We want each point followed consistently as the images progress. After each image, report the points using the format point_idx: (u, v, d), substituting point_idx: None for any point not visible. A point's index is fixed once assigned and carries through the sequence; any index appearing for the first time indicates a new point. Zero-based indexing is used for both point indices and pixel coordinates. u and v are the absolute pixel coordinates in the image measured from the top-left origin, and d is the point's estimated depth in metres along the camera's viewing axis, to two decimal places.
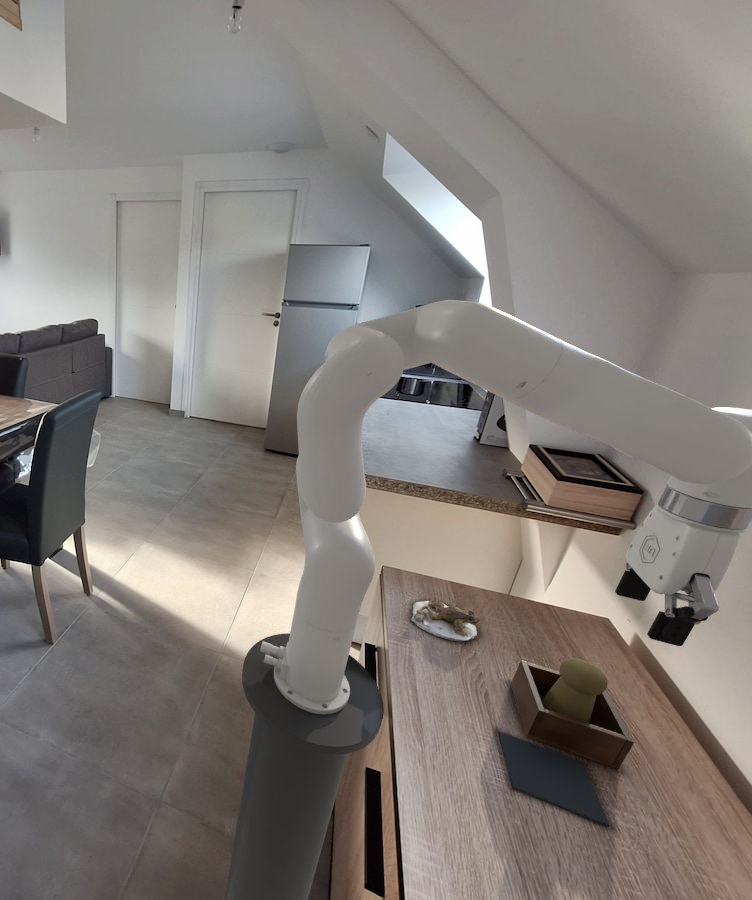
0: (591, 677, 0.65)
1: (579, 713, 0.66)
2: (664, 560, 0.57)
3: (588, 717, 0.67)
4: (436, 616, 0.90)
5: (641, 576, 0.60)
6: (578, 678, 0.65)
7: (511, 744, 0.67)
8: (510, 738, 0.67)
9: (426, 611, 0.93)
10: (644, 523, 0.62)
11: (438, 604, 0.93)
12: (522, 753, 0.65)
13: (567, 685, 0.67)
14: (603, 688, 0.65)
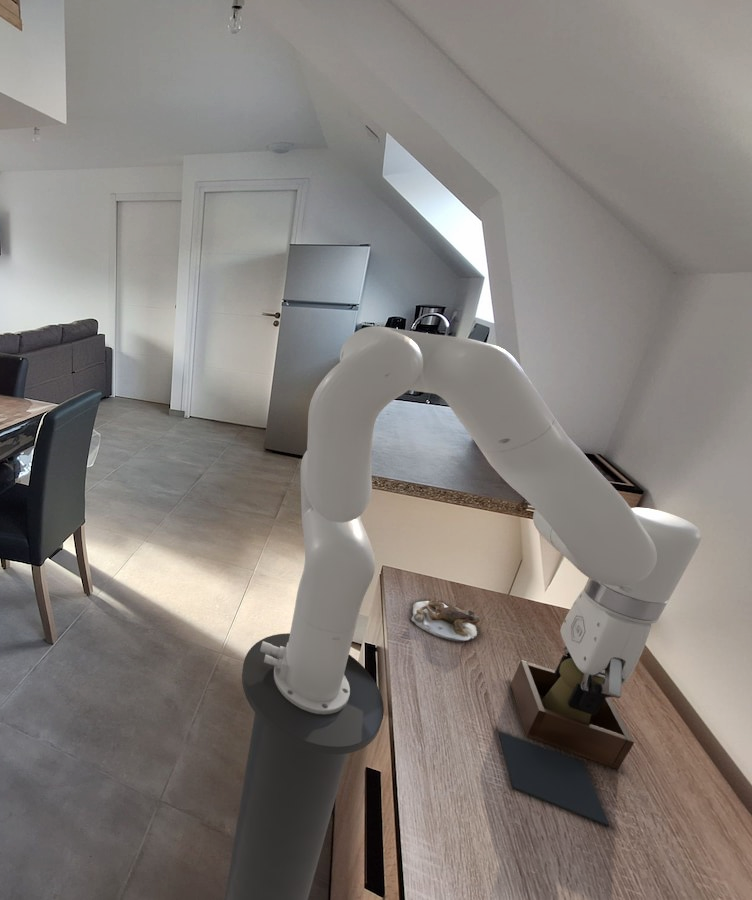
0: None
1: (579, 713, 0.66)
2: (588, 643, 0.62)
3: (588, 717, 0.67)
4: (436, 616, 0.90)
5: (571, 653, 0.66)
6: (578, 679, 0.65)
7: (511, 744, 0.67)
8: (510, 738, 0.67)
9: (426, 611, 0.93)
10: (575, 602, 0.68)
11: (438, 604, 0.93)
12: (522, 753, 0.65)
13: (567, 685, 0.67)
14: None
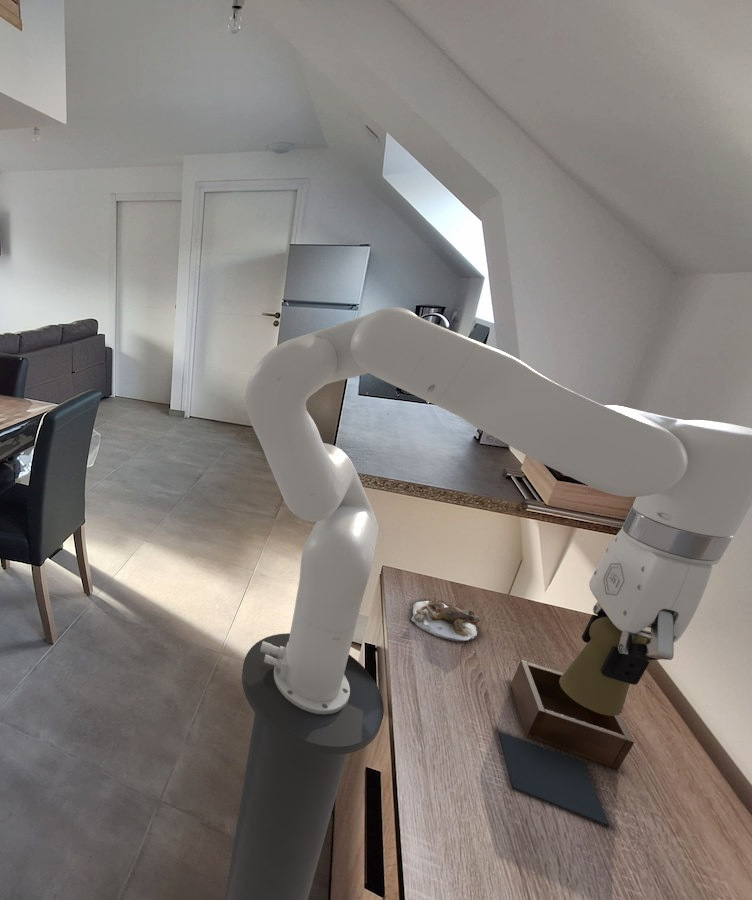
0: None
1: (614, 683, 0.54)
2: (628, 593, 0.50)
3: (626, 688, 0.54)
4: (436, 616, 0.90)
5: (604, 609, 0.53)
6: (614, 640, 0.53)
7: (511, 744, 0.67)
8: (510, 738, 0.67)
9: (426, 611, 0.93)
10: (609, 548, 0.55)
11: (438, 604, 0.93)
12: (522, 753, 0.65)
13: (600, 649, 0.55)
14: None
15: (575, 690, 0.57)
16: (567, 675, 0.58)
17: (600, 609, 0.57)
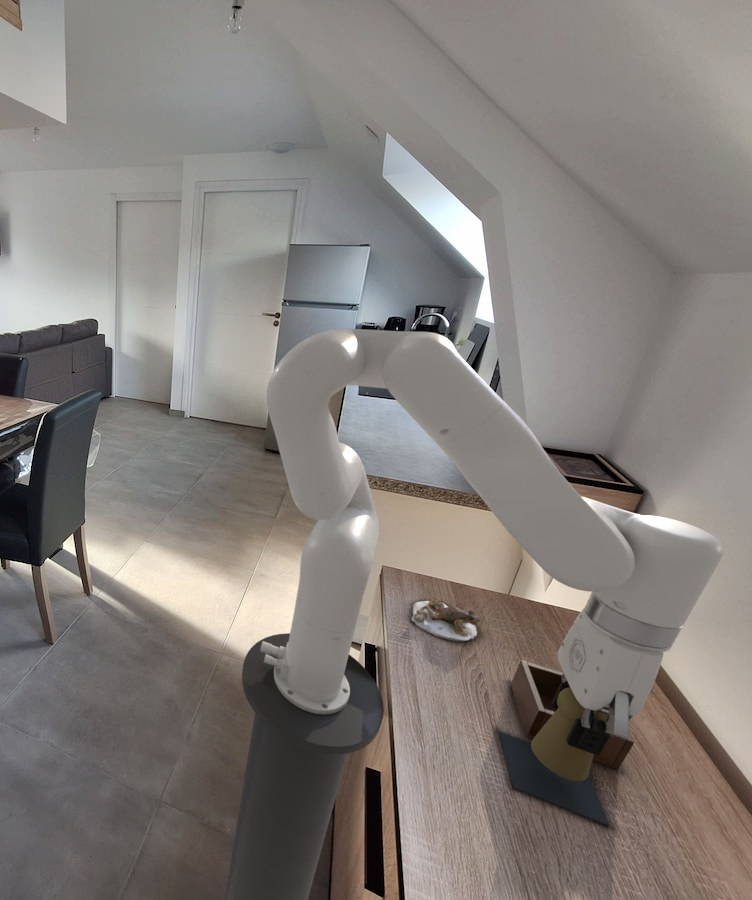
0: None
1: (579, 751, 0.58)
2: (589, 672, 0.54)
3: (590, 756, 0.58)
4: (436, 616, 0.90)
5: (569, 683, 0.57)
6: (578, 713, 0.57)
7: (511, 744, 0.67)
8: (510, 738, 0.67)
9: (426, 611, 0.93)
10: (575, 623, 0.59)
11: (438, 604, 0.93)
12: (522, 753, 0.65)
13: (566, 719, 0.58)
14: None
15: (544, 755, 0.60)
16: (538, 739, 0.62)
17: None
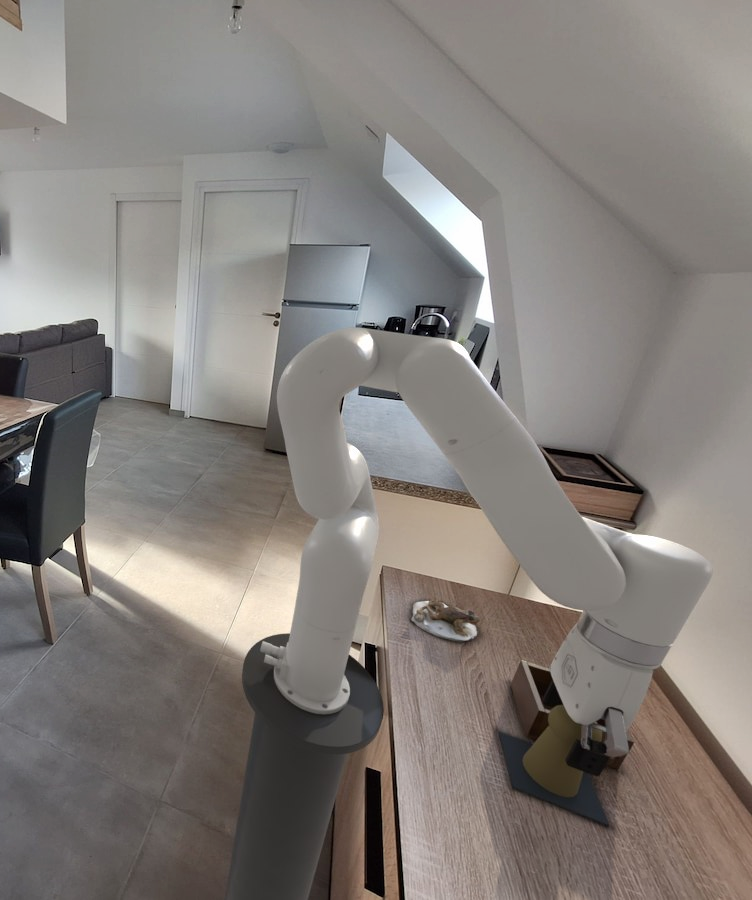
0: None
1: (569, 768, 0.59)
2: (580, 688, 0.55)
3: (580, 773, 0.59)
4: (436, 616, 0.90)
5: (561, 697, 0.58)
6: (568, 730, 0.58)
7: (511, 744, 0.67)
8: (510, 738, 0.67)
9: (426, 611, 0.93)
10: (567, 638, 0.60)
11: (438, 604, 0.93)
12: (522, 753, 0.65)
13: (557, 736, 0.60)
14: None
15: (535, 771, 0.62)
16: (529, 755, 0.63)
17: None
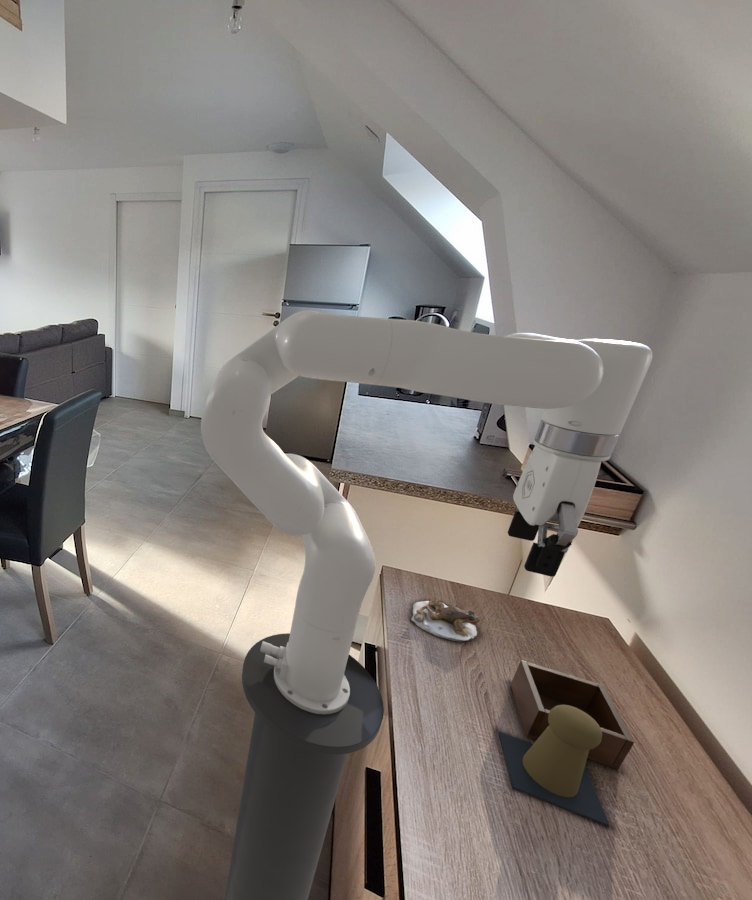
0: (583, 729, 0.57)
1: (569, 768, 0.59)
2: (536, 492, 0.58)
3: (580, 773, 0.59)
4: (436, 616, 0.90)
5: (521, 511, 0.61)
6: (568, 730, 0.58)
7: (511, 744, 0.67)
8: (510, 738, 0.67)
9: (426, 611, 0.93)
10: (527, 461, 0.63)
11: (438, 604, 0.93)
12: (522, 753, 0.65)
13: (557, 736, 0.60)
14: (597, 742, 0.57)
15: (535, 771, 0.62)
16: (529, 755, 0.63)
17: None
